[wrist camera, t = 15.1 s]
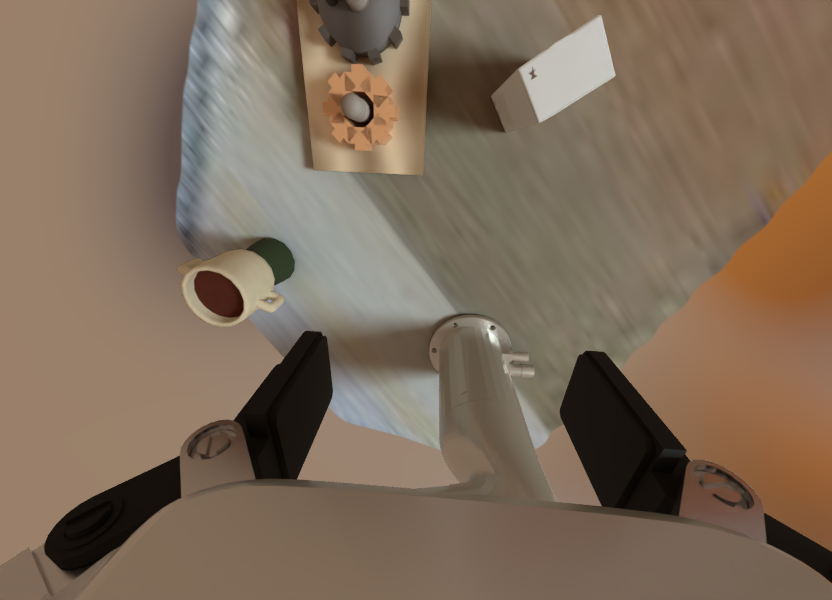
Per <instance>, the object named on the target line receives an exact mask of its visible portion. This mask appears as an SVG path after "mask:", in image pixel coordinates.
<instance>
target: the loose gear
mask: <svg viewBox="0 0 832 600" xmlns="http://www.w3.org/2000/svg"><path fill="white" fill-rule="evenodd" d="M351 71H352V72H344V73H343V74H342V75H341V77H340V76H339V75H338V74H337V73H334V74H333V75H332V76H331V78H330V79H329V80H328V83H329V84H330V85H331V87H332V88H331V90H330V91H329V92H328V102H322V105H323V115H326V116H329V119H330V124H331V125H332V126H333V127H334V128H335V129H334V130H333V132H332V133H331V134H332V135H333V136H334V137H335V138H336V139H337V140H338V141H339V142H341V143H349V144H355V150H361V151H372V145H379V144H382V145H386V144H387V143H388V142H389V141H390V140H391V139H392V138H393V137H392V136H391V135H390V134H389V133H390V132H391V130H392V129H393V128H394V121H399V109H398V107H397V106H396V105H394V101H393V100H392V99H391V97H390V96H389V95H390V94H391V93H392V92H393V90H392V89H391V87H390V86H389V85H388V83H387V82H386V81H385V80H384V78H383V77H382V76H381V74H380V75H379V76H378V77H377V78H376V79H375V78H374V76H373V75H372V74H371V73H370V72H369V71H368V70H367V69H366V67H365V66H364V65H363V64H351ZM347 93H354V94H356V95H358V96H359V97H368V98H370V99H371V100H372V101H373V103H374V118H373V119H372V120H371V122H370V123H369V124H368V125H367V126H366V127H359V126H358V125H357V124H356V123H355V122H354V120H352V119H350V118H348V117H346V116H345V115H344V114H343V112H342V110H341V100H342V97H343V96H344V95H345V94H347Z"/></svg>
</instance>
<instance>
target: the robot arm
mask: <svg viewBox="0 0 832 600" xmlns="http://www.w3.org/2000/svg"><path fill="white" fill-rule="evenodd" d="M492 325H493V326H492ZM429 356H430V361H431V363H432V365H433V367H434V368H435V369H436V371H437V372H438V373H439V440H440V448H441V452H442V455H443V457H444V460H445V462H446V464H447V466H448V467H449V469H450V470H451V472H452V473H453V474H454V476H455V477H456V479H457V480H458V481H459V482H460V483H459V484H452V485H449V486H439V487H428V488H417V489H410V488H399V487H387V486H376V485H364V484H352V483H340V482H325V481H311V480H297V478H298V475H299V473H300V471H301V468H302V466H303V464H304V461H305V459H306V457H307V454H308V452H309V450H310V448H311V445H312V443H313V441H314V438H315V436H316V434H317V431H318V429H319V427H320V424H321V422H322V420H323V417H324V415H325V413H326V411H327V408H328V406H329V404H330V401H331V399H332V394H333V388H332V379H331V370H330V361H329V352H328V343H327V337H326V336H323V335H322V333H321V332H315V331H305V332H304V333H303V334H302V335H301V337H300V338H299V339H298V341H297V342H296V343H295V345H294V346H293V347H292V349H291V350H290V351H289V353H288V354H287V355H286V357H285V358H284V359H283V361H282V362H281V364H278V365H276V366H275V367H274V368H273V370H272V371H271V372H270V373H269V375H268V376H267V377H266V379H265V380H264V381H263V383H262V384H261V385H260V387H259V388H258V389H257V390H256V392H255V393H254V395H253V396H252V397H251V398H250V400H249V401H248V402H247V404H246V405H245V406H244V407H243V409H242V410H241V411H240V413H239V414H238V415H237V417H236V418H235V419H234V420H219V421H215V422H212V423H209V424H207V425H205V426H203V427H201V428H200V429H198V430H197V431H195V432H194V433H193V434H191V435H190V436H189V437H188V438H187V440H186V441H185V442H184V444H183V446H182V447H181V451H180V456H178V457H176V458H174V459H172V460H170V461H168V462H166V463H164V464H161V465H159V466H157V467H155V468H153V469H151V470H149V471H147V472H144V473H142V474H140V475H138V476H136V477H134V478H132V479H130V480H128V481H125V482H123V483H121V484H119V485H117V486H115V487H113V488H111V489H108V490H106V491H104V492H102V493H100V494H98V495H96V496H94V497H92V498H90V499H88V500H87V501H85V502H83V503H81V504H80V505H78V506H77V507H75V508H74V509H73V510H71V511H70V512H69V513H67V514H66V515H65V516H64V517H63V518H62V519H61V520H60V521H59V522H58V523H57V524H56V525H55V527H54V528H53V529H52V531H51V532H50V534H49V535H48V537H47V539H46V542H45V543H44V544H43V545H41V546H40V547H38V548H37V549H35V550H34V551H32V550H31V549H30V548H29V547H28V548H27V549H25V550H24V551H22V552H21V553H19V554H18V555H16V556H15V557H13V558H12V559H10V560H8V561H7V562H5V563H4V564H2V565H1V566H0V600H832V552H831V551H829V550H828V549H826V548H824V547H822V546H820V545H819V544H817V543H815V542H814V541H812V540H810V539H809V538H807V537H805V536H803V535H802V534H800V533H798V532H796V531H795V530H793V529H791V528H790V527H788V526H786V525H784V524H783V523H781V522H779V521H777V520H776V519H774V518H772V517H771V516H769V515H767V514H765V513H764V509H763V505H762V502H761V499H760V498H759V496H758V495H757V494H756V492H755V491H754V490H753V489H752V488H751V487H750V486H749V485H748V484H747V483H746V482H745V481H744V480H743V479H741V478H740V477H739V476H737V475H736V474H734V473H733V472H731V471H729V470H728V469H726V468H724V467H722V466H720V465H718V464H715V463H713V462H709V461H705V460H692V461H690V460H689V459H688V458H687V456H686V455H685V453H686V451H687V450H686V449H685V448H684V447H683V445H682V444H681V443H680V442H679V441H678V439H677V438H676V437H675V436H674V435H673V434H672V432H671V431H670V430H669V429H668V428H667V426H666V425H665V424H664V423H663V421H662V420H661V419H660V418H659V417H658V415H657V414H656V413H655V412H654V411H653V410H652V408H651V407H650V406H649V405H648V404H647V402H646V401H645V400H644V399H643V398H642V396H641V395H640V394H639V393H638V392H637V390H636V389H635V388H634V387H633V386H632V384H631V383H630V382H629V381H628V380H627V378H626V377H625V376H624V375H623V374H622V373H621V371H620V370H619V369H618V368H617V366H616V365H615V364H614V363H613V362H612V360H611V359H610V358H609V357H608V356H607V354H605V353H604V352H598V351H585V352H584V353H583V354H581V355H579V356H578V359H577V362H576V364H575V367H574V370H573V373H572V376H571V379H570V382H569V385H568V387H567V390H566V393H565V396H564V399H563V402H562V405H561V408H560V416H561V419H562V421H563V423H564V426H565V428H566V430H567V432H568V434H569V436H570V439H571V441H572V443H573V445H574V447H575V449H576V451H577V454H578V456H579V458H580V460H581V462H582V464H583V467H584V469H585V471H586V473H587V475H588V477H589V479H590V482H591V484H592V486H593V488H594V490H595V492H596V495H597V496H598V499H599V501H600V503H601V505H602V506H591V505H581V504H570V503H561V502H558V501H557V499H556V497H555V495H554V493H553V491H552V489H551V487H550V485H549V483H548V481H547V479H546V476H545V474H544V472H543V470H542V467H541V465H540V462H539V460H538V457H537V455H536V452H535V449H534V446H533V443H532V440H531V437H530V434H529V431H528V428H527V425H526V422H525V419H524V416H523V413H522V410H521V407H520V404H519V400H518V397H517V394H516V391H515V388H514V385H513V382H512V379H511V377H512V376H520V377H528V378H533V376H534V366H533V365H528V364H512V360H515V361H523V362H528V360H529V354H528V352H512V347H511V342H510V339H509V336H508V334H507V333H506V331H505V329H504V328H503V327H502V326H501V325H500V324H499V323H497V322H496V321H494V320H492V319H490V318H488V317H485V316H481V315H471V314H470V315H461V316H458V317H454V318H452V319H450V320H448V321H446V322H445V323H443V324H442V325H441V326H440V327H439V328H438V329H437V330H436V331H435V332H434V334H433V336H432V338H431V341H430V346H429Z"/></svg>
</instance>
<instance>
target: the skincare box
mask: <svg viewBox="0 0 832 600" xmlns="http://www.w3.org/2000/svg"><path fill="white" fill-rule="evenodd" d="M613 77H615V72H614V68H613V64H612V59H611V55H610V51H609V46H608V42H607V38H606V34H605V29H604V25H603V21H602V17H601V15H597V16H596V17H594V18H593V19H591V20H590V21H588V22H587V23H585V24H584V25H582V26H581V27H579V28H578V29H576V30H575V31H573V32H572V33H570V34H569V35H567V36H566V37H564V38H562V39H560V40H559V41H557V42H556V43H554V44H553V45H552V46H550V47H549V48H547V49H546V50H544V51H543V52H541V53H540V54H538V55H537V56H535V57H534V58H532V59H531V60H529V61H528V62H526V63H525V64H524V65H522V66H521V67H519V68H518V69H517V70H516V71H515V72H514V73H513V74H512V75H511V76H510V77H509V78H508V79H507V80H506V81H505V82H504V83H503V84H502V85H501V86H500V87H499V88H498V89H497V90H496V91H495V92H494V93H493V94H492V95H491V98H492V101H493V103H494V105H495V108H496V111H497V113H498V115H499V118H500V120H501V123H502V125H503V127H504V130H505V132H506V133H507V132H511V131H514V130H518V129H521V128H524V127H528V126H531V125H535V124H538V123H541V122H542V121H544V120H546V119H548V118H549V117H551V116H553V115H554V114H556V113H558V112H559V111H561V110H563V109H564V108H566V107H567V106H569V105H570V104H572V103H574V102H575V101H577V100H578V99H580V98H581V97H583V96H585V95H586V94H588V93H589V92H591V91H592V90H594V89H596V88H597V87H599V86H600V85H602V84H604V83H605V82H607V81H608V80H610V79H612V78H613Z"/></svg>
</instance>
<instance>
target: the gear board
mask: <svg viewBox="0 0 832 600" xmlns="http://www.w3.org/2000/svg"><path fill="white" fill-rule="evenodd" d="M431 2H432V0H296V4H297V13H298V23H299V33H300V42H301V52H302V61H303V71H304V81H305V90H306V100H307V110H308V119H309V129H310V138H311V148H312V158H313V167H314V170H324V171H345V172H366V173H387V174H408V175H423V173H424V151H425V130H426V109H427V87H428V66H429V44H430V23H431ZM351 64H363V65H364V66H365V67H366V69H367V70H368V71H369V72H370V73H371V74H372V75H373V76H374V78H375V79H376V78H377V77H378V76H379V75H380V74H381V76H382V77H383V78H384V80H385V81H386V82H387V83H388V85H389V86H390V87H391V89H392V90H393V92H392V93H391V94H390V95H389V96H390V97H391V99H392V100H393V101H394V105H396V106H397V107H398V109H399V121H394V128H393V129H392V130H391V132H390V133H389V134H390V135H391V136H392V137H393V138H392V139H391V140H390V141H389V142H388V143H387V144H386V145H382V144H379V145H372V151H361V150H355V144H349V143H341V142H339V141H338V140H337V139H336V138H335V137H334V136H333V135H332V134H331V133H332V132H333V130H334V129H335V128H334V127H333V126H332V125H331V124H330V119H329V116H326V115H323V105H322V102H328V92H329V91H330V90H331V88H332V87H331V85H330V84H329V83H328V80H329V79H330V78H331V76H332V75H333V74H334V73H337V74H338V75H339V76H340V77H341V75H342V74H343V73H344V72H352V71H351ZM341 110H342V112H343V114H344V115H345V116H346V117H348V118H350V119H352V120H354V122H355V123H356V124H357V125H358V126H359V127H366V126H367V125H368V124H369V123H370V122H371V120H372V119H373V118H374V103H373V101H372V100H371V99H370V98H368V97H359V96H358V95H356V94H354V93H347V94H345V95H344V96H343V97H342V100H341Z"/></svg>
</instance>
